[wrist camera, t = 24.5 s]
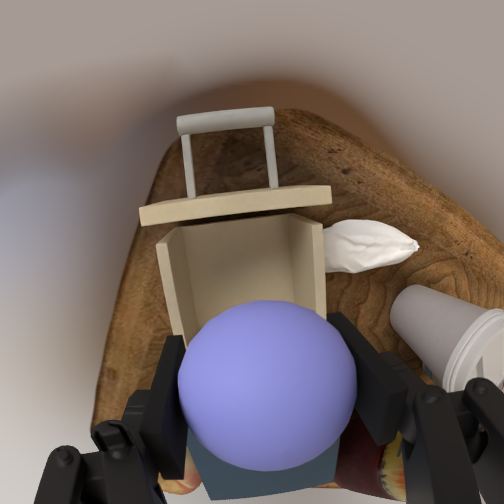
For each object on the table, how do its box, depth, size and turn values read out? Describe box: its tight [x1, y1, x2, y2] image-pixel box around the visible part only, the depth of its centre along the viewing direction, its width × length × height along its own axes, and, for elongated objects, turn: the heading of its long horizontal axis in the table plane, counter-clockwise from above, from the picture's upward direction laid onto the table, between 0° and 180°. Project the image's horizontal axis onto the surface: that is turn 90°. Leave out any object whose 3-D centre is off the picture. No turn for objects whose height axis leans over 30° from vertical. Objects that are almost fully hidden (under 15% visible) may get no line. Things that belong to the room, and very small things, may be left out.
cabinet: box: [187, 426, 340, 500], centre depth 28 cm, size 18×14×11 cm
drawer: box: [139, 107, 332, 350], centre depth 24 cm, size 23×12×9 cm, turn 6°
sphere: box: [178, 300, 357, 471], centre depth 11 cm, size 7×7×7 cm
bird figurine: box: [323, 220, 420, 273], centre depth 27 cm, size 5×7×10 cm
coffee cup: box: [390, 285, 504, 393], centre depth 25 cm, size 10×10×15 cm
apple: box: [158, 447, 202, 495], centre depth 30 cm, size 9×9×8 cm
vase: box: [334, 418, 485, 502], centre depth 23 cm, size 11×11×26 cm
